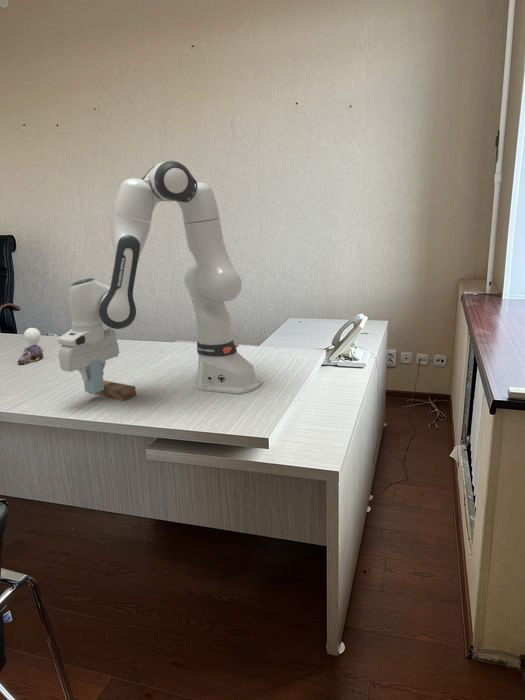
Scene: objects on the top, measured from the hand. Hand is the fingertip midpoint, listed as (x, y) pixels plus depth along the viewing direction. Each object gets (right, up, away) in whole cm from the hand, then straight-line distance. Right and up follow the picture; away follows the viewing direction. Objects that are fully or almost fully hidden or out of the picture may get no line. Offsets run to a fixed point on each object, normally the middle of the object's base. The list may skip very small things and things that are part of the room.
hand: (93, 377), depth 162 cm
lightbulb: (-42, +7, +56) cm, 71 cm away
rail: (+4, -6, +6) cm, 9 cm away
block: (0, -4, +1) cm, 4 cm away
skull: (-39, +3, +45) cm, 60 cm away
